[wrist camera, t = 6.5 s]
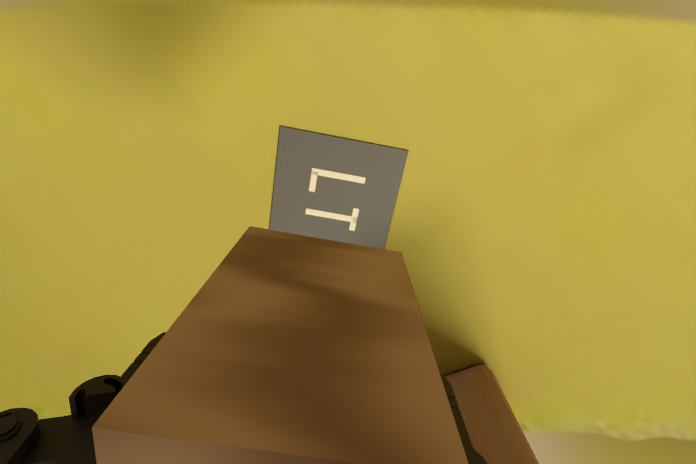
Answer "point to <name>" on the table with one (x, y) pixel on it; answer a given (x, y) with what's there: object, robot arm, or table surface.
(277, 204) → the plate
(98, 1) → the table surface
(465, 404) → the wooden block
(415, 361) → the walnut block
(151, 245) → the table surface
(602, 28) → the table surface
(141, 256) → the table surface
